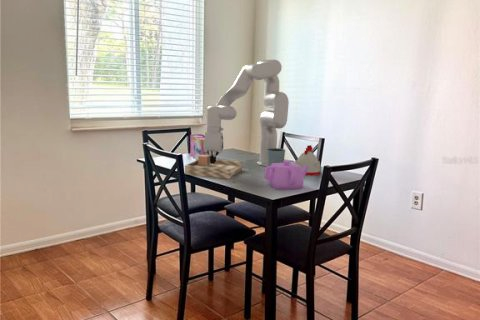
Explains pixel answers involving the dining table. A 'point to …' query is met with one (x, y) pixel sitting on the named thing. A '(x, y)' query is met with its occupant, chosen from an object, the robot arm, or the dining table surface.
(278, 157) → the gray plant pot
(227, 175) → the wooden tray
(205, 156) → the block
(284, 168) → the teakettle
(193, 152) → the gum box
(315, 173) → the kitchen timer
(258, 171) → the dining table surface
